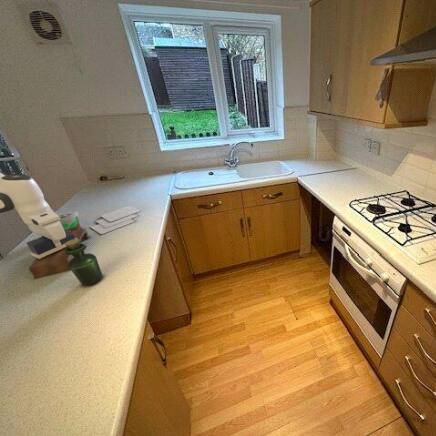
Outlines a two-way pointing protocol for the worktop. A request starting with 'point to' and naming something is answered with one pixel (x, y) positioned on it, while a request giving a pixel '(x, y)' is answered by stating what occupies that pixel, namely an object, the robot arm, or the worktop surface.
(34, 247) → the navy stepped box
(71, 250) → the potion bottle
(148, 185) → the worktop surface
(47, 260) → the wooden serving board
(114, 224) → the paper stack
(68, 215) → the food container
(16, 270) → the worktop surface
